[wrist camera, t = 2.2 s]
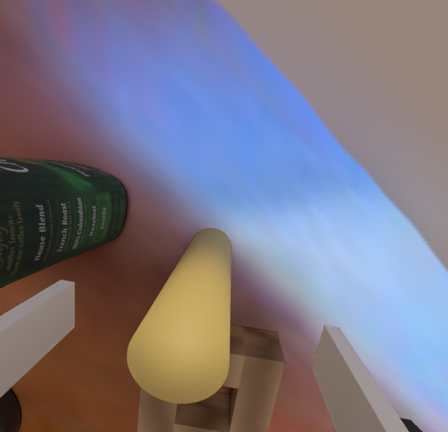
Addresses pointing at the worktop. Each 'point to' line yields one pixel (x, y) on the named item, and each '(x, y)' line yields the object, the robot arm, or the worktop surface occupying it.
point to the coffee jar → (54, 213)
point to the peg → (188, 326)
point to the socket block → (224, 403)
